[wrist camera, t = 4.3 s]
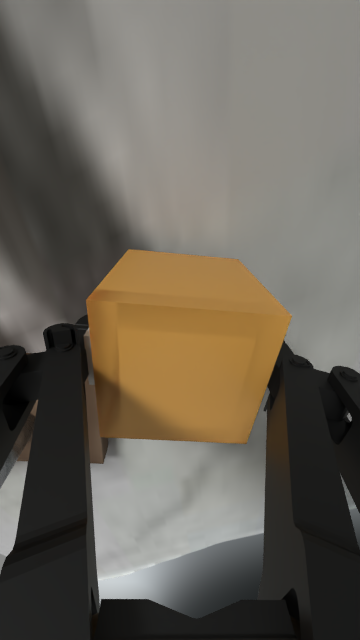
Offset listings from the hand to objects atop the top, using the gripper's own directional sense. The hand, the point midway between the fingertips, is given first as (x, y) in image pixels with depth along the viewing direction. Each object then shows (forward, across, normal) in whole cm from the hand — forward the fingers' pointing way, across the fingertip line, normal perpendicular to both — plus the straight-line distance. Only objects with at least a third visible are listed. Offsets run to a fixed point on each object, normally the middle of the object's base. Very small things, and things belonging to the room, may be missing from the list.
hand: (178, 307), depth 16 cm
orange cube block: (0, 0, 0) cm, 0 cm away
